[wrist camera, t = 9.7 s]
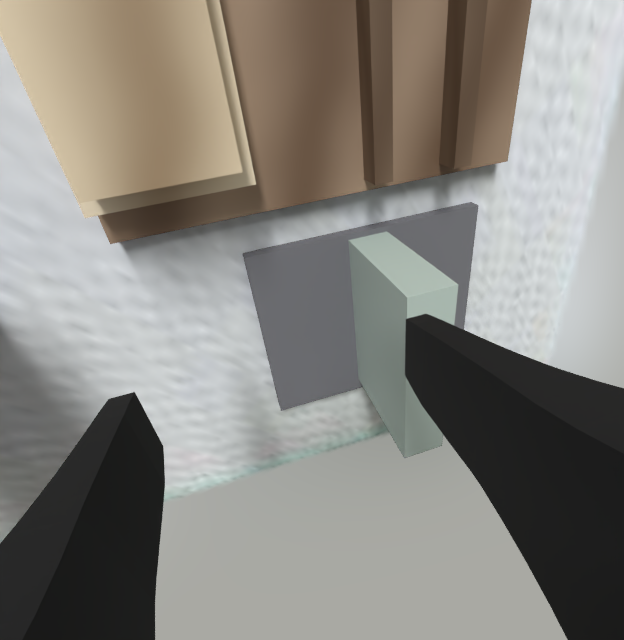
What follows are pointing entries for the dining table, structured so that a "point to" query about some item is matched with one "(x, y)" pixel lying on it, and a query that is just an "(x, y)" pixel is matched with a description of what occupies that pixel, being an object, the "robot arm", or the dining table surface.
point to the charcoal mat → (340, 297)
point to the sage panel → (395, 330)
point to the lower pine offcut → (197, 186)
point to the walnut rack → (357, 100)
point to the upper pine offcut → (124, 90)
